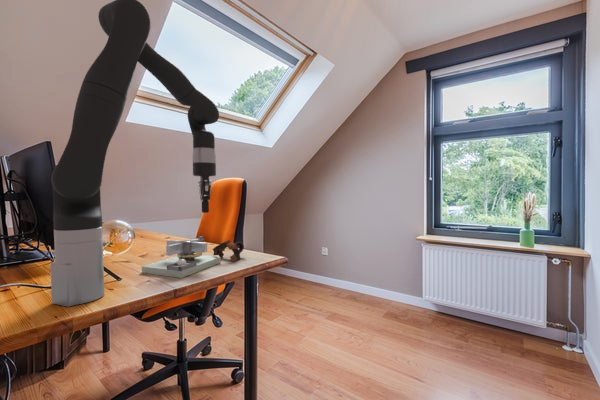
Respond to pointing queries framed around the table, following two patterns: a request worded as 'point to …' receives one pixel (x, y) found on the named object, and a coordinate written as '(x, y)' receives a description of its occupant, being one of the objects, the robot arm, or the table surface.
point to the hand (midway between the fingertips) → (205, 212)
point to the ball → (181, 262)
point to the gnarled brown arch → (232, 247)
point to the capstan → (186, 248)
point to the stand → (173, 270)
